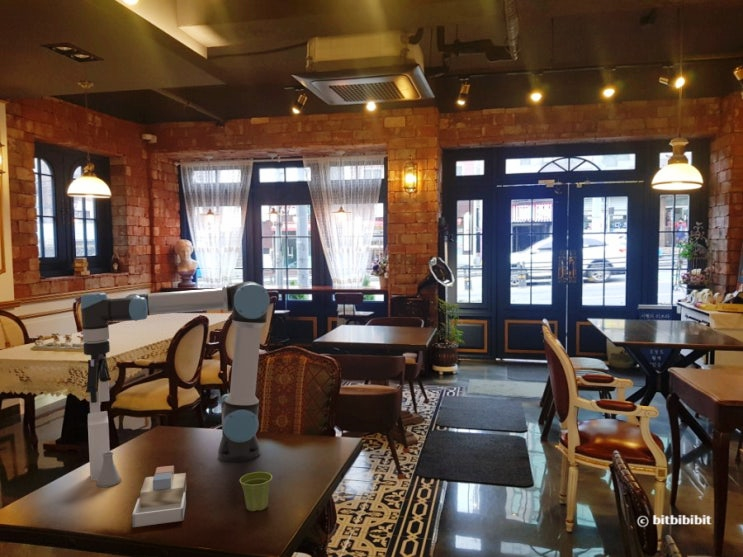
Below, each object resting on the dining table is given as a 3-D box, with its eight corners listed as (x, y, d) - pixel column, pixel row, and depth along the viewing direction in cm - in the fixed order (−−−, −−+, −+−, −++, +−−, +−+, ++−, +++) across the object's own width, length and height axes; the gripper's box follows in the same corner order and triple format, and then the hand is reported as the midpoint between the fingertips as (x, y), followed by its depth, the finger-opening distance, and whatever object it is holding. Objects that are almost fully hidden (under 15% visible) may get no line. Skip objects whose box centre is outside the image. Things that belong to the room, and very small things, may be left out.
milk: (110, 477, 187) (108, 413, 186) (90, 481, 184) (88, 415, 183) (109, 471, 193) (107, 408, 191) (89, 475, 190) (87, 411, 188)
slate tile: (172, 481, 170) (172, 472, 170) (171, 488, 166) (170, 478, 166) (155, 483, 169) (154, 474, 169) (153, 490, 164) (152, 480, 164)
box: (185, 503, 166) (185, 492, 166) (183, 520, 156) (182, 508, 156) (138, 509, 163) (138, 498, 163) (132, 527, 153) (132, 514, 152)
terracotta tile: (174, 474, 176) (173, 465, 176) (172, 481, 171) (172, 471, 171) (157, 476, 175) (157, 467, 174) (155, 483, 170) (155, 473, 170)
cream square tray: (186, 488, 177) (185, 472, 177) (183, 503, 166) (183, 487, 166) (146, 493, 174) (145, 477, 174) (140, 509, 163) (140, 492, 163)
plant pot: (257, 517, 157) (256, 487, 156) (233, 509, 162) (232, 480, 161) (279, 504, 165) (278, 475, 164) (256, 497, 170) (255, 469, 169)
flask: (111, 488, 178) (110, 458, 178) (91, 487, 180) (90, 456, 179) (125, 479, 186) (124, 449, 185) (106, 478, 187) (105, 448, 186)
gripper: (92, 336, 189) (96, 397, 191) (72, 348, 165) (77, 418, 166) (116, 334, 191) (120, 395, 192) (100, 346, 167) (104, 416, 168)
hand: (100, 406), depth 179 cm, fingers open, 13 cm apart
